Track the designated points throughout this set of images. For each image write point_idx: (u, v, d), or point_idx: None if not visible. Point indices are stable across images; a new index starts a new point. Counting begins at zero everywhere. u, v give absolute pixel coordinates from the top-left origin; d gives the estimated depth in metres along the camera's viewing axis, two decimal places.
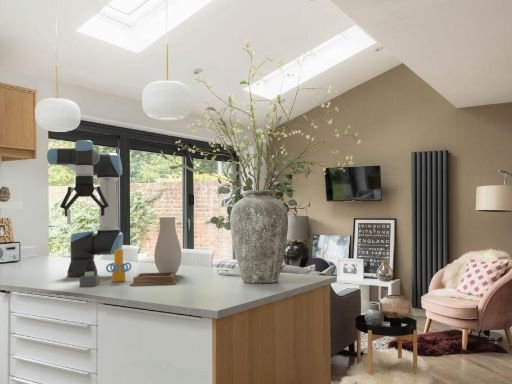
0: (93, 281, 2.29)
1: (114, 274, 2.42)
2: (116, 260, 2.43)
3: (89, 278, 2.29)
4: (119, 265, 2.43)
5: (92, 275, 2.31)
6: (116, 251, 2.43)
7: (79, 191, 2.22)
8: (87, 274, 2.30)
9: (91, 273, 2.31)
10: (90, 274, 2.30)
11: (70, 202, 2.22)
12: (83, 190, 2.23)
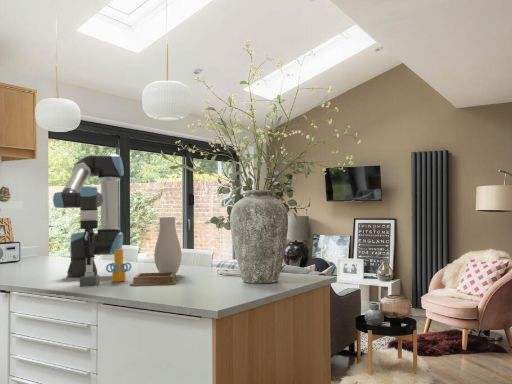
0: (93, 281, 2.29)
1: (114, 274, 2.42)
2: (116, 260, 2.43)
3: (89, 278, 2.29)
4: (119, 265, 2.43)
5: (92, 275, 2.31)
6: (116, 251, 2.43)
7: None
8: (87, 274, 2.30)
9: (91, 273, 2.31)
10: (90, 274, 2.30)
11: None
12: None
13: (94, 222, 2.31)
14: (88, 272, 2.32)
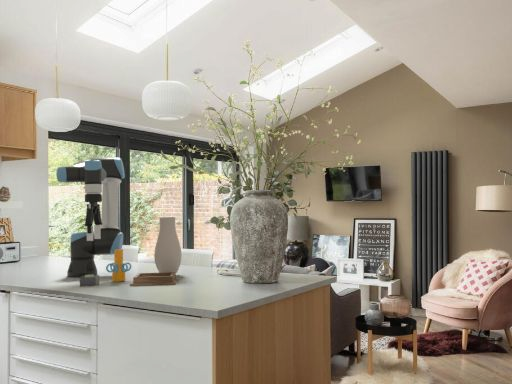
0: (93, 281, 2.29)
1: (114, 274, 2.42)
2: (116, 260, 2.43)
3: (89, 278, 2.29)
4: (119, 265, 2.43)
5: None
6: (116, 251, 2.43)
7: None
8: None
9: (91, 276, 2.31)
10: None
11: None
12: None
13: (98, 195, 2.33)
14: (88, 275, 2.32)
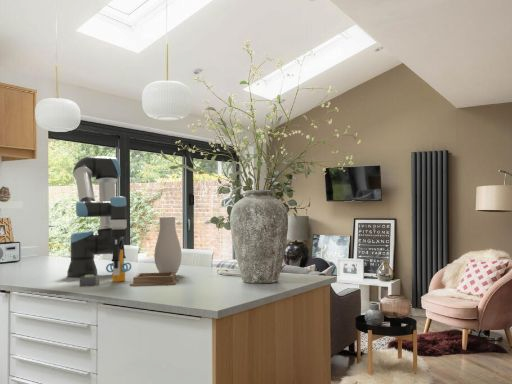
0: (93, 281, 2.29)
1: None
2: None
3: (89, 278, 2.29)
4: None
5: None
6: None
7: None
8: None
9: (91, 276, 2.31)
10: None
11: None
12: None
13: (123, 231, 2.44)
14: (88, 275, 2.32)
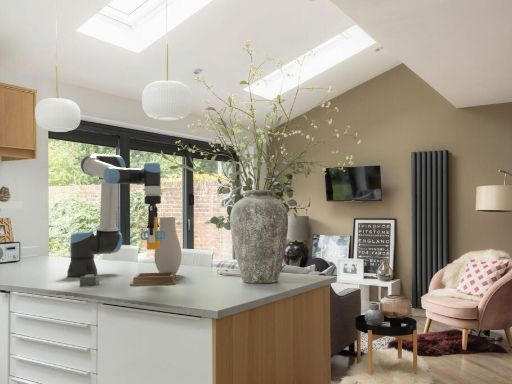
0: (93, 281, 2.29)
1: None
2: None
3: (89, 278, 2.29)
4: None
5: None
6: None
7: None
8: None
9: (91, 276, 2.31)
10: None
11: None
12: None
13: (158, 197, 2.37)
14: (88, 275, 2.32)
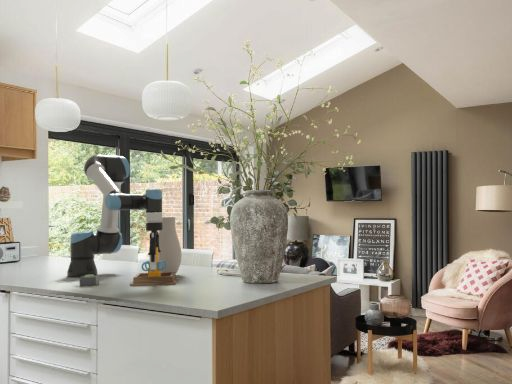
0: (93, 281, 2.29)
1: (150, 273, 2.35)
2: None
3: (89, 278, 2.29)
4: None
5: None
6: None
7: None
8: None
9: (91, 276, 2.31)
10: None
11: None
12: None
13: (160, 224, 2.36)
14: (88, 275, 2.32)
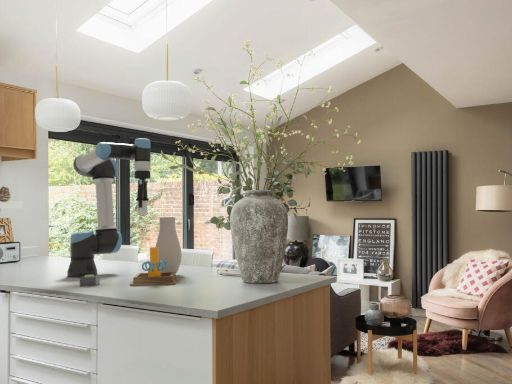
0: (93, 281, 2.29)
1: (150, 273, 2.35)
2: (152, 258, 2.36)
3: (89, 278, 2.29)
4: (155, 263, 2.36)
5: None
6: (152, 249, 2.36)
7: None
8: None
9: (91, 276, 2.31)
10: None
11: None
12: None
13: (148, 172, 2.45)
14: (88, 275, 2.32)
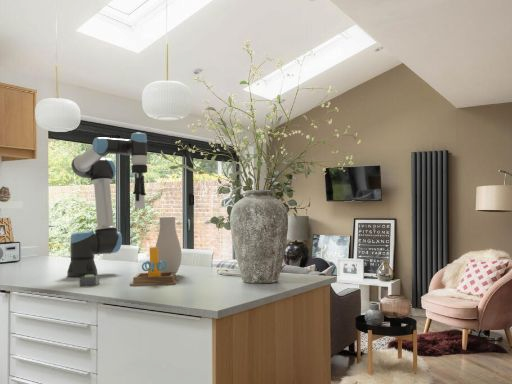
0: (93, 281, 2.29)
1: (150, 273, 2.35)
2: (152, 258, 2.36)
3: (89, 278, 2.29)
4: (155, 263, 2.36)
5: None
6: (152, 249, 2.36)
7: None
8: None
9: (91, 276, 2.31)
10: None
11: None
12: None
13: (144, 166, 2.48)
14: (88, 275, 2.32)
